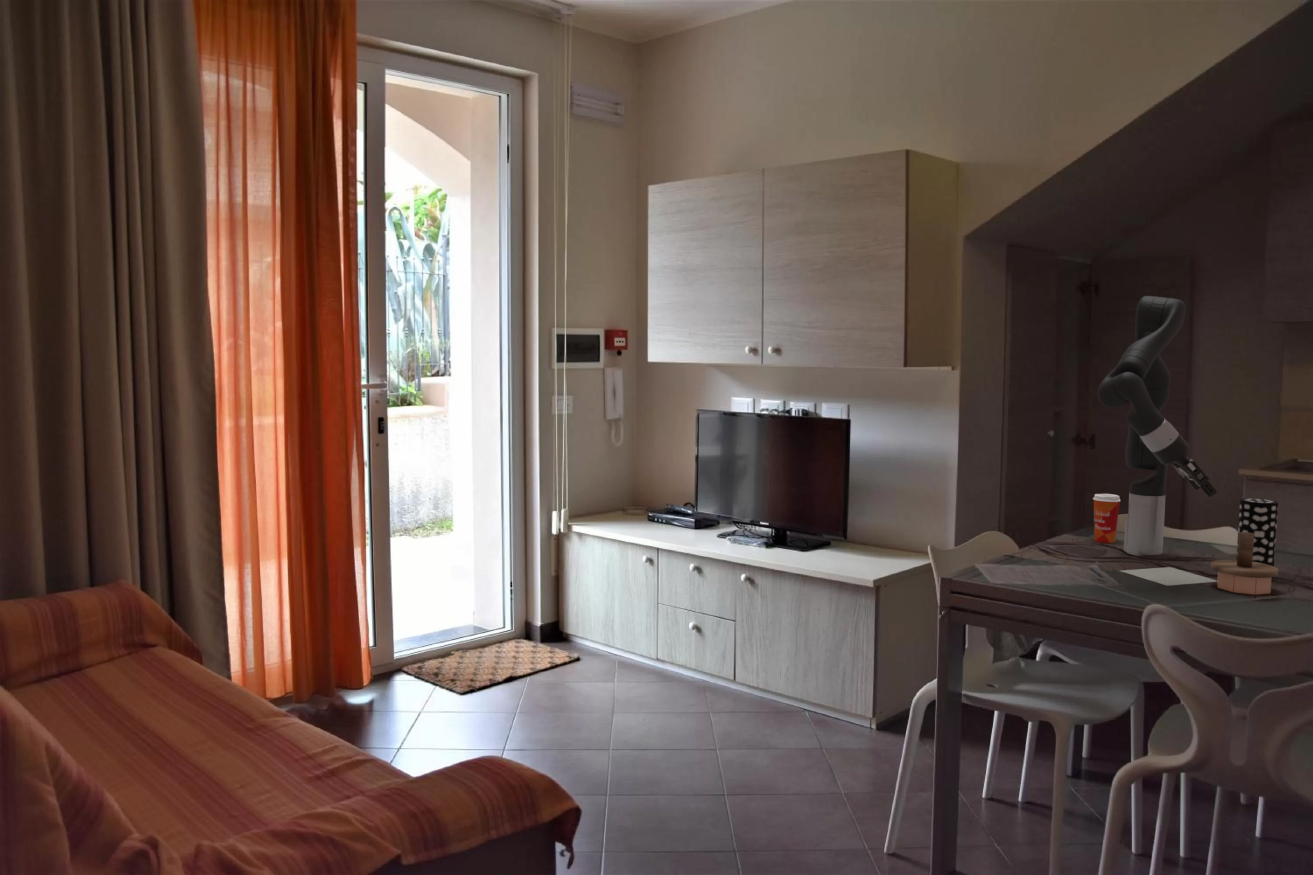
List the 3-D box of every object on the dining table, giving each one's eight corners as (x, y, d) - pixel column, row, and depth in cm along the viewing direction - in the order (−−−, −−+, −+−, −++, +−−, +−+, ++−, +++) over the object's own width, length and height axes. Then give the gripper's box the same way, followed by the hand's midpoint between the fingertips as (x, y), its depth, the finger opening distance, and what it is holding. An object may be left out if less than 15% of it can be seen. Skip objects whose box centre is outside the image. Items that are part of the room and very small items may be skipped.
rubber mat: (1119, 573, 259) (1119, 570, 259) (1169, 569, 263) (1170, 566, 263) (1166, 588, 244) (1167, 585, 244) (1219, 584, 248) (1219, 581, 248)
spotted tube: (1227, 575, 257) (1232, 499, 255) (1251, 573, 260) (1256, 497, 258) (1257, 583, 250) (1262, 504, 248) (1280, 580, 253) (1286, 502, 251)
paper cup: (1085, 539, 303) (1087, 493, 302) (1105, 538, 305) (1108, 492, 304) (1103, 544, 296) (1106, 497, 294) (1124, 543, 298) (1127, 496, 297)
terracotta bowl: (1206, 587, 245) (1207, 567, 245) (1242, 584, 248) (1243, 564, 248) (1244, 598, 235) (1245, 577, 234) (1281, 595, 238) (1282, 574, 237)
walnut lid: (1197, 566, 246) (1199, 529, 245) (1242, 562, 250) (1245, 526, 249) (1245, 579, 232) (1247, 540, 231) (1292, 575, 236) (1295, 537, 235)
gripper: (1187, 435, 237) (1231, 487, 237) (1166, 426, 250) (1207, 475, 251) (1160, 455, 238) (1204, 507, 239) (1141, 445, 252) (1182, 494, 252)
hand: (1206, 490), depth 245 cm, fingers open, 8 cm apart
